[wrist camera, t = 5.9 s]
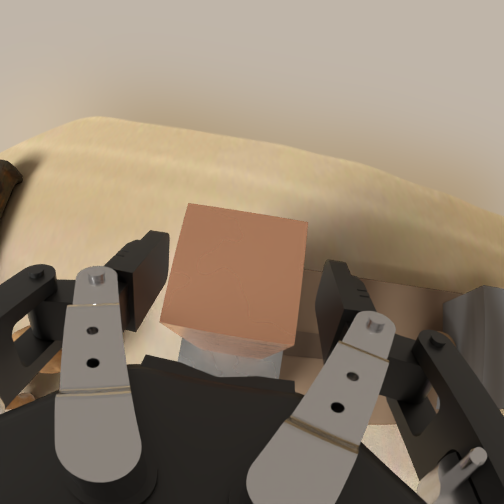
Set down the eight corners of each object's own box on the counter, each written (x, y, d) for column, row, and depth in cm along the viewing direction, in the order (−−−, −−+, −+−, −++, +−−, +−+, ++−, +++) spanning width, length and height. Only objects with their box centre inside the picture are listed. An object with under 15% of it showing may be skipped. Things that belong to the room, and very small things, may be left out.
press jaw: (284, 278, 21) (347, 152, 9) (265, 403, 18) (321, 456, 6) (207, 266, 21) (177, 126, 9) (184, 389, 18) (99, 415, 6)
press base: (464, 301, 23) (518, 277, 17) (457, 416, 20) (515, 420, 13) (206, 262, 24) (195, 218, 17) (179, 399, 20) (156, 411, 13)
